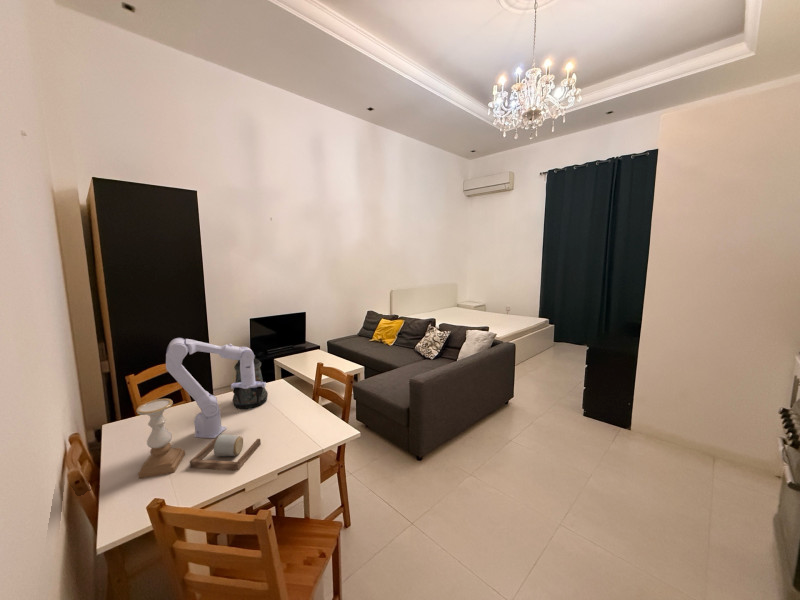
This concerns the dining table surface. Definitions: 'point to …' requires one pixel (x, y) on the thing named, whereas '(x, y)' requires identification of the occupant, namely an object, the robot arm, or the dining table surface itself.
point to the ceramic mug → (228, 445)
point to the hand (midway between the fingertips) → (250, 402)
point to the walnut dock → (222, 465)
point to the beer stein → (250, 389)
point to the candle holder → (159, 441)
